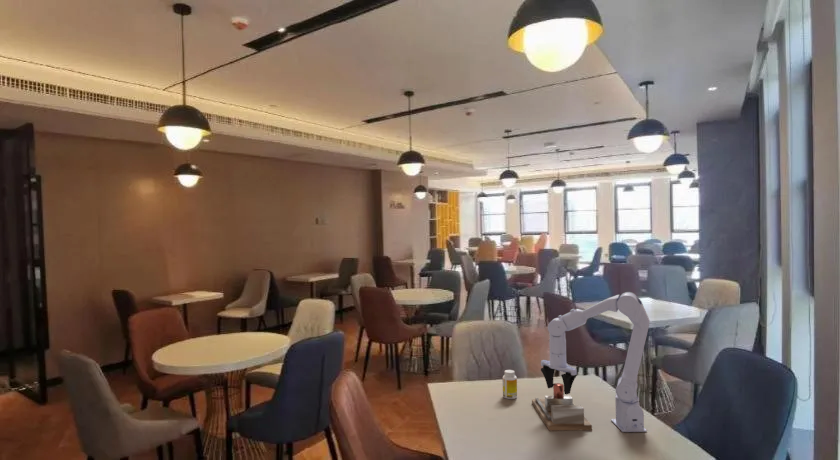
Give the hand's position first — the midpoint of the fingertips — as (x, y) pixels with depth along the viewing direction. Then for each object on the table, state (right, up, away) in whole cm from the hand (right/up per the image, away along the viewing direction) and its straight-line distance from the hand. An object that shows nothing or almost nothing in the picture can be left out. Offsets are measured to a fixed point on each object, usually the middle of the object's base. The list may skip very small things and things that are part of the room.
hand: (558, 390), depth 167 cm
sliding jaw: (0, -7, 0) cm, 7 cm away
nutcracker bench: (0, -9, -1) cm, 9 cm away
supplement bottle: (-14, -9, +18) cm, 24 cm away
